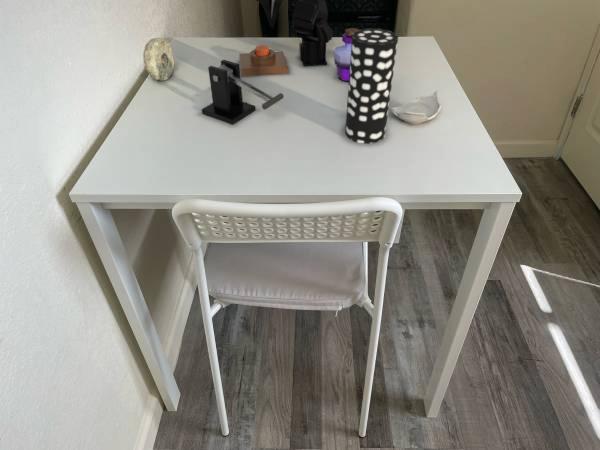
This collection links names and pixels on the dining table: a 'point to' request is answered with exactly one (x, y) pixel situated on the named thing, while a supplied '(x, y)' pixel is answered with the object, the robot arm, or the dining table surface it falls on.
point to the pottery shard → (419, 109)
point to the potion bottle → (344, 55)
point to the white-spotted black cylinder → (370, 84)
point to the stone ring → (158, 58)
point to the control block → (263, 63)
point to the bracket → (226, 96)
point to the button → (262, 50)
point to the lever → (252, 88)
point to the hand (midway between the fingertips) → (271, 26)
